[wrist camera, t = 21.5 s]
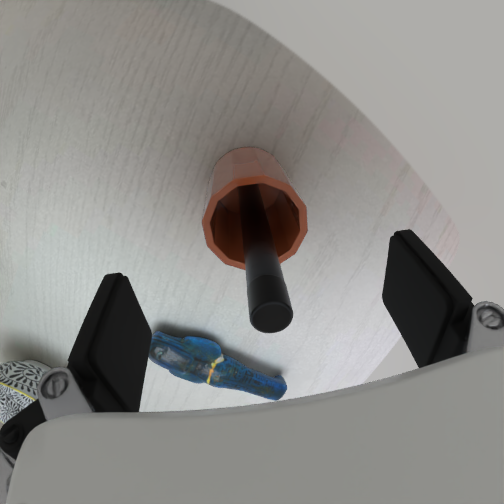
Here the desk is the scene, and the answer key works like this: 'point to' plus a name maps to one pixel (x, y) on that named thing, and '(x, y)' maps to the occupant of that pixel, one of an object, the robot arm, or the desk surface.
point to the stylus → (262, 266)
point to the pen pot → (274, 199)
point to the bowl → (19, 386)
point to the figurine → (211, 366)
